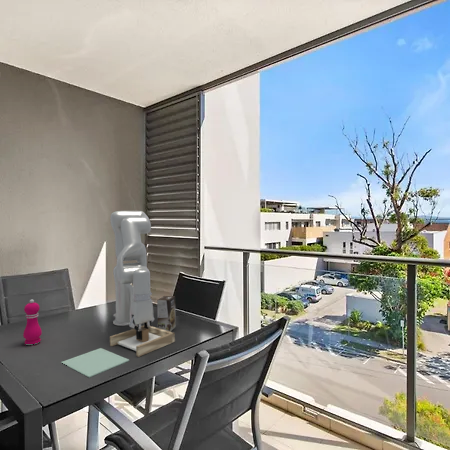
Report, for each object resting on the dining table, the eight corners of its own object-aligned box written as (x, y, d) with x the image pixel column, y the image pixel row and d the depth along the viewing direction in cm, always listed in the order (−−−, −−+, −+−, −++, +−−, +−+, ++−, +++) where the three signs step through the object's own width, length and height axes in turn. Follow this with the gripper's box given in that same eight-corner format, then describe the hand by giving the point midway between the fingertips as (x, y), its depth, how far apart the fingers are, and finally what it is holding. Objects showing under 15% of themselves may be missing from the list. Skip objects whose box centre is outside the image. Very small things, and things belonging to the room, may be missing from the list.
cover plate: (117, 343, 147) (117, 330, 147) (146, 333, 160) (146, 321, 159) (137, 351, 138) (137, 337, 138) (166, 340, 151) (166, 327, 151)
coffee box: (169, 333, 162) (169, 300, 161) (157, 332, 163) (156, 299, 163) (176, 327, 171) (175, 295, 170) (164, 326, 172) (163, 295, 172)
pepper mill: (45, 341, 153) (44, 298, 153) (31, 347, 146) (30, 301, 146) (33, 339, 155) (32, 296, 155) (19, 345, 149) (18, 300, 148)
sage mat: (61, 363, 130) (61, 362, 130) (100, 348, 143) (100, 348, 143) (89, 377, 118) (89, 376, 118) (129, 360, 131) (129, 359, 131)
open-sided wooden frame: (109, 345, 147) (109, 336, 147) (146, 332, 163) (145, 324, 163) (138, 356, 135) (138, 347, 135) (174, 341, 151) (174, 333, 151)
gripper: (150, 292, 157) (151, 331, 158) (121, 299, 144) (121, 341, 145) (161, 294, 152) (162, 334, 153) (131, 302, 140) (132, 345, 140)
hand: (142, 337), depth 149 cm, fingers closed on cover plate, 3 cm apart
